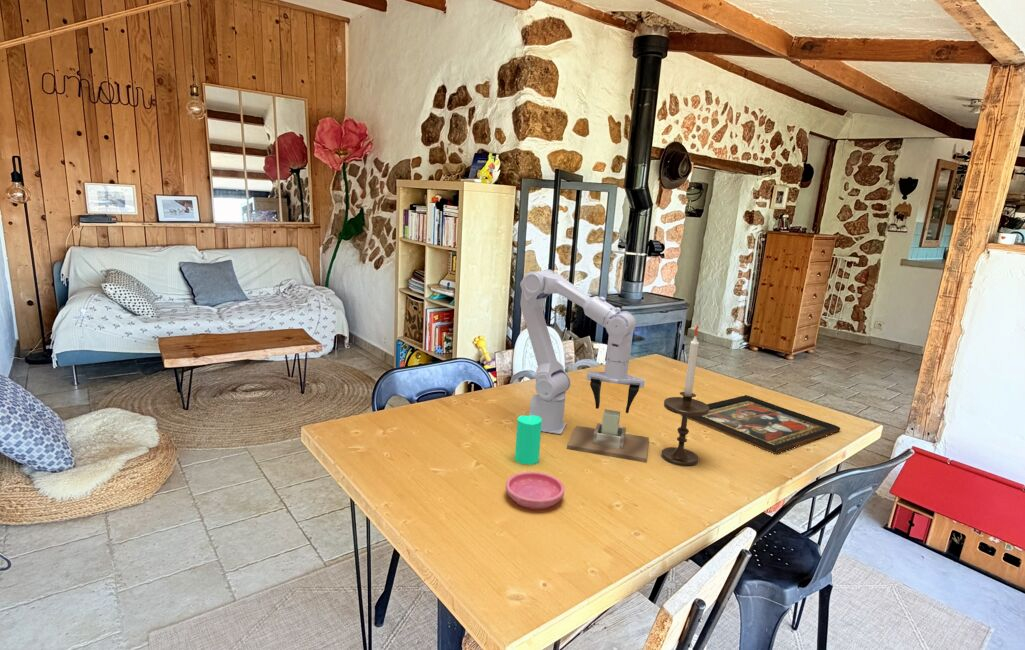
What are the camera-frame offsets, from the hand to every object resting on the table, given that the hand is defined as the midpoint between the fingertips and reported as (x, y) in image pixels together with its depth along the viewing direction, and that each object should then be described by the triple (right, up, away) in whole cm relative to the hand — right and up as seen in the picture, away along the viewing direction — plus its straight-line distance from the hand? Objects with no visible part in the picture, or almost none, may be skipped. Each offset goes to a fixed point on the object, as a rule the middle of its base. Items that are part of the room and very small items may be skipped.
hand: (612, 409), depth 145 cm
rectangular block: (-1, -9, +1) cm, 9 cm away
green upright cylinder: (-23, -11, -9) cm, 27 cm away
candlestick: (+16, -12, -4) cm, 21 cm away
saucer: (-21, -15, -27) cm, 37 cm away
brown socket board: (-1, -10, +2) cm, 10 cm away
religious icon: (+49, -9, +24) cm, 55 cm away
